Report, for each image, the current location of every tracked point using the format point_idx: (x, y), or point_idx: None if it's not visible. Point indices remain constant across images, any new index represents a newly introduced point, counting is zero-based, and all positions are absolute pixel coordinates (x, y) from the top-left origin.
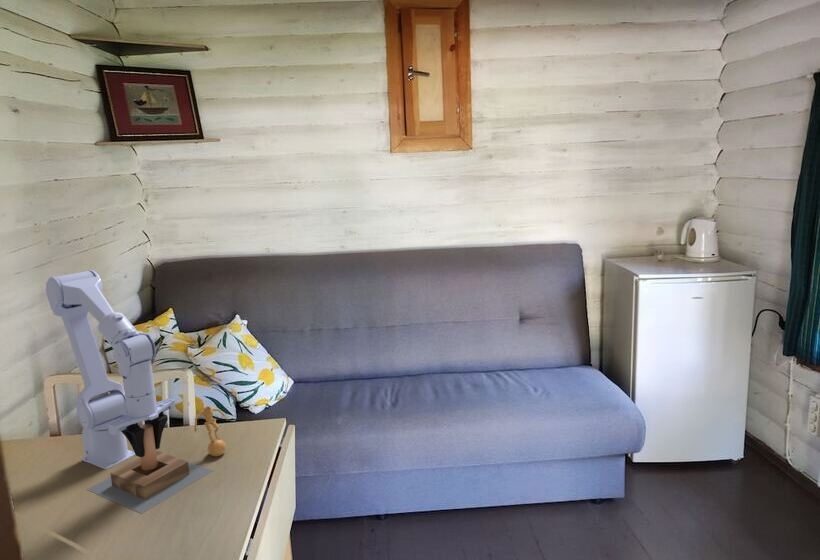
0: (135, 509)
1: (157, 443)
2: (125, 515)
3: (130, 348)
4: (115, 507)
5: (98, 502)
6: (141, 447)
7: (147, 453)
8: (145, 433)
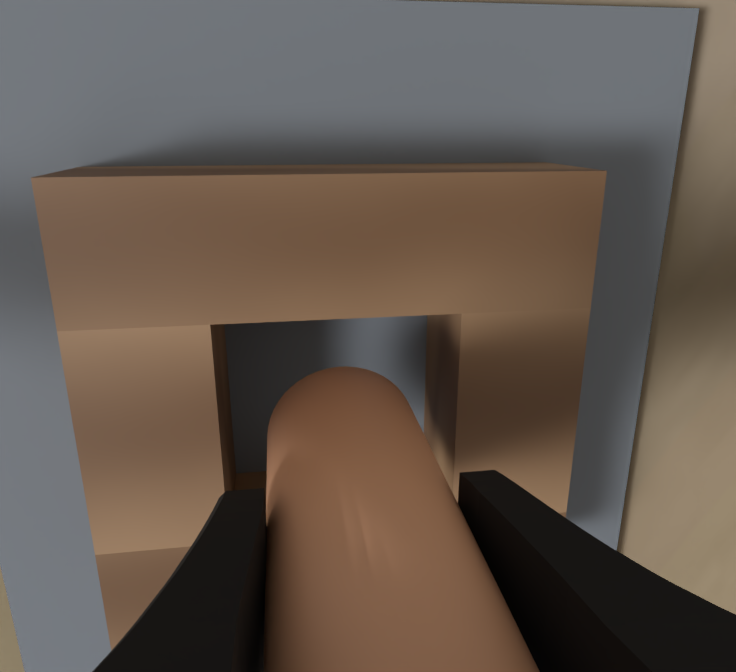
0: (672, 109)
1: (257, 529)
2: (714, 142)
3: None
4: (664, 298)
5: (658, 445)
6: (571, 535)
7: (427, 473)
8: None
